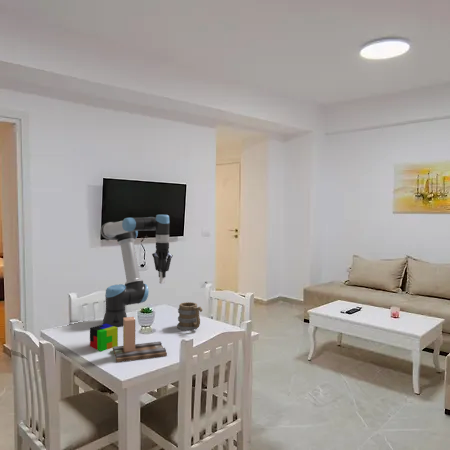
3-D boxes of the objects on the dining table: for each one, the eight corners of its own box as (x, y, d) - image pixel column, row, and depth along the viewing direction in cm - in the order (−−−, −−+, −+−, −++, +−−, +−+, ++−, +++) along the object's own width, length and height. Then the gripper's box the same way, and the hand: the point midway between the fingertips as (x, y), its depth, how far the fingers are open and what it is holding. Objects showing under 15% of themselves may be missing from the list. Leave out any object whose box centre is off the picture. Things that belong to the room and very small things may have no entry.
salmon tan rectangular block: (133, 348, 207) (133, 316, 206) (135, 352, 202) (135, 319, 201) (123, 349, 205) (123, 317, 204) (124, 353, 200) (124, 320, 199)
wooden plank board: (159, 345, 217) (159, 340, 217) (166, 355, 203) (166, 350, 202) (112, 350, 209) (112, 345, 208) (116, 362, 194) (116, 357, 194)
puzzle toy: (106, 341, 221) (106, 323, 221) (117, 346, 215) (117, 327, 214) (89, 346, 214) (89, 327, 213) (101, 351, 207) (101, 332, 207)
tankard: (173, 326, 250) (173, 301, 249) (191, 322, 257) (191, 299, 256) (191, 335, 234) (191, 309, 233) (209, 331, 241) (209, 306, 240)
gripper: (149, 241, 232) (148, 282, 234) (167, 243, 226) (167, 285, 228) (157, 240, 239) (156, 280, 241) (175, 242, 233) (175, 283, 235)
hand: (162, 283), depth 234 cm, fingers closed
